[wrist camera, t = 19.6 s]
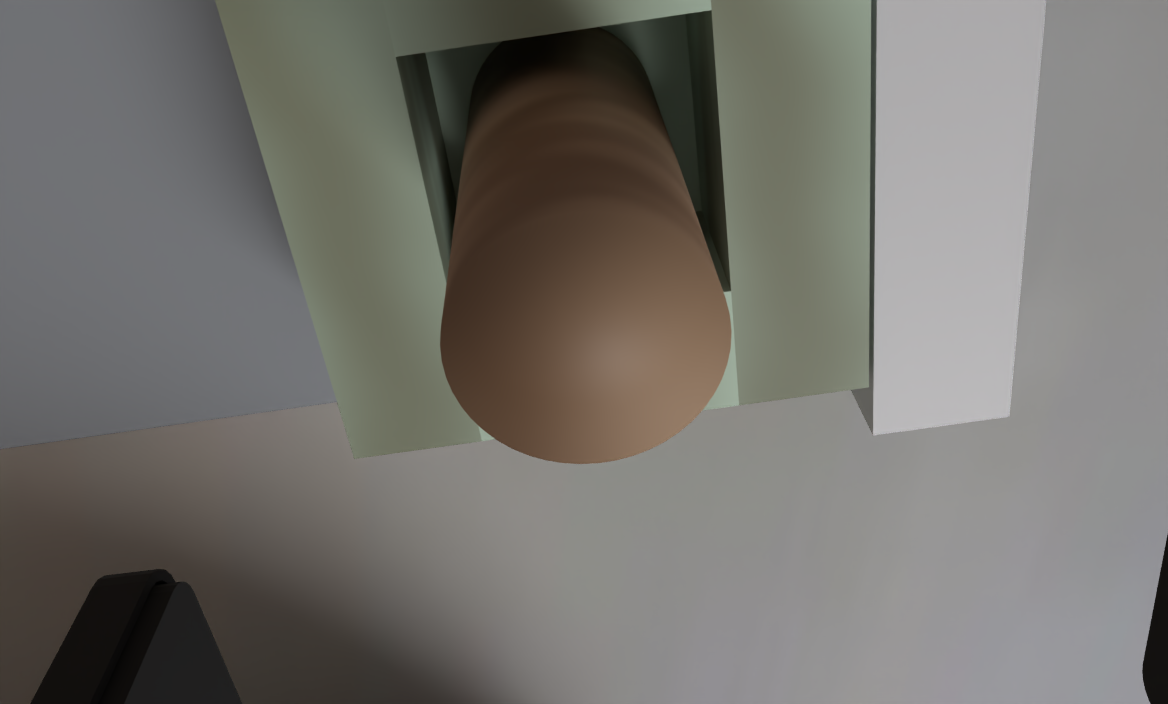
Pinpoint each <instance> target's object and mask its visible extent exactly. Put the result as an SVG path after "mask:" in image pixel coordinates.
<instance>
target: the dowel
mask: <svg viewBox="0 0 1168 704" xmlns="http://www.w3.org/2000/svg"><path fill="white" fill-rule="evenodd" d="M731 333H732V331H731V321H730V313H729V309H728V306H727V302H726V298H725V295H724V292H723V289H722V287H721V284H720V281H719V278H718V275H717V272H716V269H715V267H714V264H713V261H712V258H711V255H710V252H709V249H708V247H707V244H706V241H705V238H704V235H703V232H702V229H701V227H700V224H699V221H698V218H697V215H696V212H695V209H694V207H693V204H692V201H691V198H690V195H689V192H688V189H687V187H686V184H685V181H684V178H683V175H682V172H681V169H680V167H679V164H678V161H677V158H676V155H675V152H674V149H673V147H672V144H671V141H670V138H669V135H668V132H667V129H666V127H665V124H664V121H663V118H662V115H661V112H660V109H659V106H658V104H657V101H656V98H655V95H654V92H653V89H652V86H651V84H650V81H649V78H648V76H647V74H646V71H645V69H644V67H643V66H642V64H641V62H640V60H639V59H638V58H637V56H636V55H635V54H634V52H633V51H632V50H631V49H630V48H629V47H628V46H627V45H626V44H625V43H624V42H623V41H622V40H620V39H619V38H617V37H616V36H615V35H613V34H612V33H610V32H608V31H606V30H604V29H603V28H600V27H594V28H587V29H580V30H574V31H567V32H560V33H553V34H547V35H540V36H533V37H526V38H520V39H513V40H506V41H502V42H501V43H500V44H499V45H498V46H497V47H496V48H495V49H494V50H493V51H492V52H491V53H490V54H489V56H488V57H487V59H486V60H485V62H484V63H483V64H482V66H481V68H480V70H479V72H478V74H477V76H476V79H475V82H474V85H473V89H472V94H471V100H470V107H469V115H468V123H467V130H466V138H465V146H464V153H463V161H462V169H461V176H460V184H459V192H458V199H457V207H456V215H455V222H454V230H453V238H452V245H451V253H450V261H449V268H448V276H447V284H446V291H445V299H444V307H443V314H442V322H441V332H440V350H441V360H442V364H443V368H444V372H445V376H446V379H447V381H448V383H449V386H450V388H451V390H452V393H453V394H454V396H455V397H456V399H457V401H458V402H459V404H460V406H461V407H462V408H463V409H464V411H465V412H466V413H467V414H468V416H469V417H470V418H471V419H472V420H473V421H474V422H475V423H476V424H477V425H478V426H479V427H480V428H481V429H483V430H484V431H485V432H486V433H488V434H489V435H491V436H492V437H493V438H495V439H496V440H498V441H499V442H501V443H503V444H505V445H507V446H508V447H510V448H512V449H514V450H517V451H519V452H522V453H524V454H527V455H529V456H533V457H536V458H540V459H544V460H548V461H554V462H560V463H573V464H589V463H602V462H608V461H615V460H619V459H623V458H627V457H630V456H634V455H636V454H639V453H642V452H644V451H647V450H649V449H651V448H653V447H655V446H657V445H659V444H661V443H663V442H665V441H667V440H668V439H670V438H671V437H673V436H674V435H676V434H677V433H679V432H680V431H681V430H682V429H683V428H685V427H686V426H687V425H688V424H689V423H691V422H692V421H693V420H694V419H695V418H696V417H697V415H698V414H699V413H700V412H701V411H702V410H703V409H704V408H705V406H706V405H707V404H708V402H709V401H710V399H711V398H712V396H713V395H714V393H715V392H716V390H717V388H718V386H719V384H720V382H721V380H722V378H723V375H724V372H725V369H726V367H727V363H728V359H729V354H730V349H731Z"/></svg>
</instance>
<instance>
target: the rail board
mask: <svg viewBox="0 0 1168 704" xmlns="http://www.w3.org/2000/svg"><path fill="white" fill-rule="evenodd" d="M1045 10H1046V0H871V120H870V284H869V387H868V388H860V389H853V390H851V391H852V393H853V395H854V397H855V399H856V401H857V403H858V405H859V408H860V410H861V412H862V414H863V416H864V418H865V420H866V422H867V424H868V426H869V428H870V430H871V432H872V434H873V435H879V434H887V433H894V432H901V431H908V430H916V429H923V428H930V427H937V426H945V425H952V424H959V423H966V422H974V421H981V420H988V419H995V418H1003V417H1009V415H1010V403H1011V392H1012V381H1013V370H1014V358H1015V347H1016V336H1017V325H1018V313H1019V302H1020V291H1021V280H1022V268H1023V257H1024V246H1025V235H1026V223H1027V212H1028V201H1029V190H1030V178H1031V167H1032V156H1033V145H1034V133H1035V122H1036V111H1037V100H1038V88H1039V77H1040V66H1041V55H1042V43H1043V32H1044V21H1045ZM333 402H337V400H336V397H335V394H334V390H333V387H332V384H331V381H330V377H329V374H328V371H327V367H326V364H325V361H324V358H323V354H322V351H321V348H320V344H319V341H318V338H317V334H316V331H315V328H314V325H313V321H312V318H311V315H310V311H309V308H308V305H307V302H306V298H305V295H304V292H303V288H302V285H301V282H300V279H299V275H298V272H297V269H296V265H295V262H294V259H293V256H292V252H291V249H290V246H289V242H288V239H287V236H286V232H285V229H284V226H283V223H282V219H281V216H280V213H279V209H278V206H277V203H276V200H275V196H274V193H273V190H272V186H271V183H270V180H269V177H268V173H267V170H266V167H265V163H264V160H263V157H262V154H261V150H260V147H259V144H258V140H257V137H256V134H255V131H254V127H253V124H252V121H251V117H250V114H249V111H248V107H247V104H246V101H245V98H244V94H243V91H242V88H241V84H240V81H239V78H238V75H237V71H236V68H235V65H234V61H233V58H232V55H231V52H230V48H229V45H228V42H227V38H226V35H225V32H224V29H223V25H222V22H221V19H220V15H219V12H218V9H217V6H216V2H215V0H0V449H5V448H13V447H20V446H27V445H34V444H41V443H48V442H55V441H62V440H70V439H77V438H84V437H91V436H98V435H105V434H112V433H119V432H127V431H134V430H141V429H148V428H155V427H162V426H169V425H176V424H183V423H191V422H198V421H205V420H212V419H219V418H226V417H233V416H240V415H248V414H255V413H262V412H269V411H276V410H283V409H290V408H297V407H305V406H312V405H319V404H326V403H333Z"/></svg>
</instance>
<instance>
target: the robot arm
mask: <svg viewBox="0 0 1168 704" xmlns="http://www.w3.org/2000/svg"><path fill="white" fill-rule="evenodd" d="M1142 673H1143V682H1144V686H1145V690H1146V693H1147V696H1148V699H1149V701H1150V703H1151V704H1168V535H1167V540H1166V546H1165V551H1164V556H1163V561H1162V567H1161V572H1160V577H1159V582H1158V588H1157V593H1156V598H1155V603H1154V609H1153V614H1152V619H1151V624H1150V630H1149V635H1148V640H1147V645H1146V650H1145V656H1144V661H1143V670H1142ZM31 704H242V702H241V700H240V698H239V695H238V693H237V691H236V688H235V686H234V684H233V681H232V679H231V677H230V674H229V672H228V670H227V668H226V665H225V663H224V661H223V658H222V656H221V654H220V651H219V649H218V647H217V644H216V642H215V640H214V637H213V635H212V633H211V630H210V628H209V626H208V623H207V621H206V619H205V617H204V614H203V612H202V610H201V607H200V605H199V603H198V600H197V598H196V596H195V593H194V591H193V590H192V588H191V586H190V585H189V584H188V583H186V582H175V581H174V579H173V577H172V575H171V574H170V573H168V572H167V571H166V570H162V569H156V570H148V571H140V572H131V573H123V574H114V575H106V576H103V577H102V578H100V579H98V580H97V582H96V583H95V584H94V586H93V587H92V589H91V591H90V592H89V594H88V596H87V598H86V600H85V602H84V604H83V606H82V608H81V609H80V611H79V613H78V615H77V617H76V619H75V621H74V623H73V625H72V626H71V628H70V630H69V632H68V634H67V636H66V638H65V640H64V641H63V643H62V645H61V647H60V649H59V651H58V653H57V655H56V657H55V658H54V660H53V662H52V664H51V666H50V668H49V670H48V672H47V674H46V675H45V677H44V679H43V681H42V683H41V685H40V687H39V689H38V690H37V692H36V694H35V696H34V698H33V700H32V702H31Z"/></svg>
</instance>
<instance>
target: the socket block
mask: <svg viewBox="0 0 1168 704" xmlns="http://www.w3.org/2000/svg"><path fill="white" fill-rule="evenodd" d="M215 2H216V6H217V9H218V12H219V15H220V19H221V22H222V25H223V29H224V32H225V35H226V38H227V42H228V45H229V48H230V52H231V55H232V58H233V61H234V65H235V68H236V71H237V75H238V78H239V81H240V84H241V88H242V91H243V94H244V98H245V101H246V104H247V107H248V111H249V114H250V117H251V121H252V124H253V127H254V131H255V134H256V137H257V140H258V144H259V147H260V150H261V154H262V157H263V160H264V163H265V167H266V170H267V173H268V177H269V180H270V183H271V186H272V190H273V193H274V196H275V200H276V203H277V206H278V209H279V213H280V216H281V219H282V223H283V226H284V229H285V232H286V236H287V239H288V242H289V246H290V249H291V252H292V256H293V259H294V262H295V265H296V269H297V272H298V275H299V279H300V282H301V285H302V288H303V292H304V295H305V298H306V302H307V305H308V308H309V311H310V315H311V318H312V321H313V325H314V328H315V331H316V334H317V338H318V341H319V344H320V348H321V351H322V354H323V358H324V361H325V364H326V367H327V371H328V374H329V377H330V381H331V384H332V387H333V390H334V394H335V397H336V400H337V404H338V407H339V410H340V413H341V417H342V420H343V423H344V427H345V430H346V433H347V436H348V440H349V443H350V446H351V450H352V453H353V456H354V459H357V458H364V457H371V456H379V455H386V454H393V453H400V452H407V451H414V450H422V449H429V448H436V447H443V446H450V445H458V444H465V443H472V442H479V441H486V440H494V439H495V438H493V437H492V436H491V435H489V434H488V433H486V432H485V431H484V430H483V429H481V428H480V427H479V426H478V425H477V424H476V423H475V422H474V421H473V420H472V419H471V418H470V417H469V416H468V414H467V413H466V412H465V411H464V409H463V408H462V407H461V406H460V404H459V402H458V401H457V399H456V397H455V396H454V394H453V393H452V390H451V388H450V386H449V383H448V381H447V379H446V376H445V372H444V368H443V364H442V360H441V350H440V332H441V322H442V314H443V307H444V299H445V291H446V284H447V276H448V268H449V261H450V253H451V245H452V238H453V230H454V222H455V215H456V207H457V199H458V192H459V184H460V176H461V169H462V161H463V153H464V146H465V138H466V130H467V123H468V115H469V107H470V100H471V94H472V89H473V85H474V82H475V79H476V76H477V74H478V72H479V70H480V68H481V66H482V64H483V63H484V62H485V60H486V59H487V57H488V56H489V54H490V53H491V52H492V51H493V50H494V49H495V48H496V47H497V46H498V45H499V44H500V43H501V42H502V41H506V40H513V39H520V38H526V37H533V36H540V35H547V34H553V33H560V32H567V31H574V30H580V29H587V28H594V27H600V28H603V29H604V30H606V31H608V32H610V33H612V34H613V35H615V36H616V37H617V38H619V39H620V40H622V41H623V42H624V43H625V44H626V45H627V46H628V47H629V48H630V49H631V50H632V51H633V52H634V54H635V55H636V56H637V58H638V59H639V60H640V62H641V64H642V66H643V67H644V69H645V71H646V74H647V76H648V78H649V81H650V84H651V86H652V89H653V92H654V95H655V98H656V101H657V104H658V106H659V109H660V112H661V115H662V118H663V121H664V124H665V127H666V129H667V132H668V135H669V138H670V141H671V144H672V147H673V149H674V152H675V155H676V158H677V161H678V164H679V167H680V169H681V172H682V175H683V178H684V181H685V184H686V187H687V189H688V192H689V195H690V198H691V201H692V204H693V207H694V209H695V212H696V215H697V218H698V221H699V224H700V227H701V229H702V232H703V235H704V238H705V241H706V244H707V247H708V249H709V252H710V255H711V258H712V261H713V264H714V267H715V269H716V272H717V275H718V278H719V281H720V284H721V287H722V289H723V292H724V295H725V298H726V302H727V306H728V309H729V313H730V321H731V331H732V333H731V349H730V354H729V359H728V363H727V367H726V369H725V372H724V375H723V378H722V380H721V382H720V384H719V386H718V388H717V390H716V392H715V393H714V395H713V396H712V398H711V399H710V401H709V402H708V404H707V405H706V406H705V408H704V409H703V410H709V409H716V408H724V407H731V406H738V405H745V404H752V403H760V402H767V401H774V400H781V399H788V398H796V397H803V396H810V395H817V394H824V393H832V392H839V391H846V390H853V389H860V388H868V387H869V284H870V120H871V0H215Z"/></svg>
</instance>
